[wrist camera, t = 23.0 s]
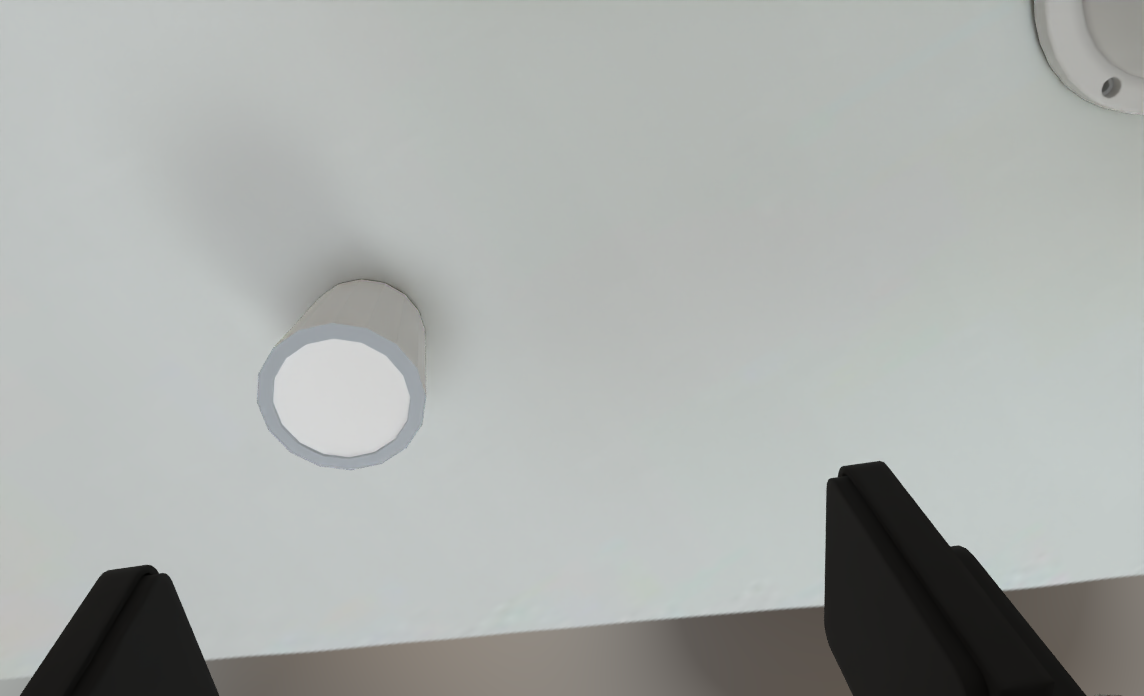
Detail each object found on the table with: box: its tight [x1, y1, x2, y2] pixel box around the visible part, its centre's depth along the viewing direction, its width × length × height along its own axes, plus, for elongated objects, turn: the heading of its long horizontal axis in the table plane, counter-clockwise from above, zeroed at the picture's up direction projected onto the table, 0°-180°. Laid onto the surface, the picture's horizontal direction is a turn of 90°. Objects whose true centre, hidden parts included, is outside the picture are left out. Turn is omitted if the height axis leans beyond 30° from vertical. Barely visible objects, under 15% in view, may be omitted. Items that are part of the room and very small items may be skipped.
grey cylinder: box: [257, 279, 426, 470], centre depth 37 cm, size 7×7×7 cm
